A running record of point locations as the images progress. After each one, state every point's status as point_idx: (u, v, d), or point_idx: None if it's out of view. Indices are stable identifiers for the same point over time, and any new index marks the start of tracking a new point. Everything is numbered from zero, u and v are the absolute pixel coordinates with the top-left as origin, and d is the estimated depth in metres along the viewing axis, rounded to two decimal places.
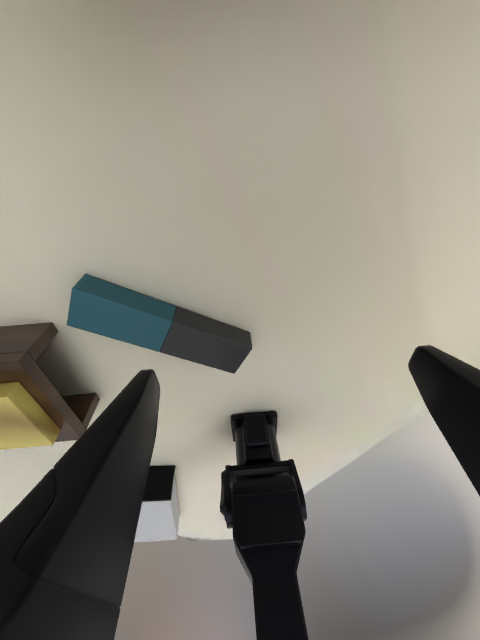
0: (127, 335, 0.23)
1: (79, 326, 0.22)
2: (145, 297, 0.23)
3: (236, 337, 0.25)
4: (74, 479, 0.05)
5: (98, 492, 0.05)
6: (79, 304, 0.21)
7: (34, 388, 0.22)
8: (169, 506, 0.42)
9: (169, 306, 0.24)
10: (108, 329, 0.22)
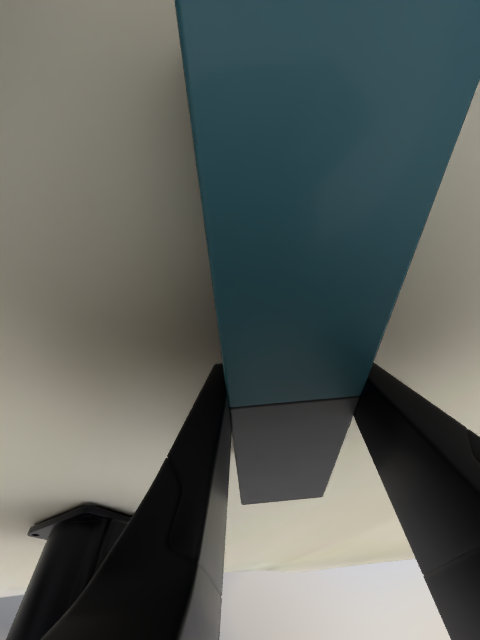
0: (257, 322, 0.06)
1: (209, 92, 0.03)
2: None
3: None
4: (194, 468, 0.05)
5: (215, 481, 0.05)
6: (395, 47, 0.03)
7: None
8: None
9: None
10: (260, 252, 0.05)
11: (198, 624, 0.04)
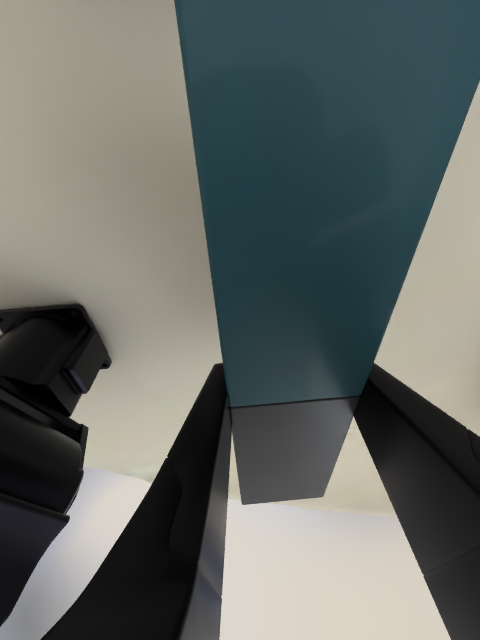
0: (258, 321, 0.06)
1: (209, 90, 0.03)
2: None
3: None
4: (194, 468, 0.05)
5: (215, 481, 0.05)
6: (395, 44, 0.03)
7: None
8: None
9: None
10: (260, 252, 0.05)
11: (198, 624, 0.04)
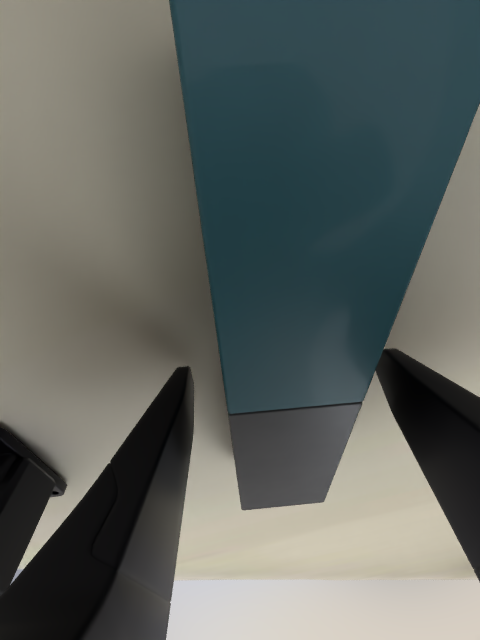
0: (257, 328, 0.06)
1: (205, 91, 0.03)
2: None
3: None
4: (133, 473, 0.05)
5: (156, 486, 0.05)
6: (401, 42, 0.03)
7: None
8: None
9: None
10: (259, 258, 0.05)
11: (117, 633, 0.04)
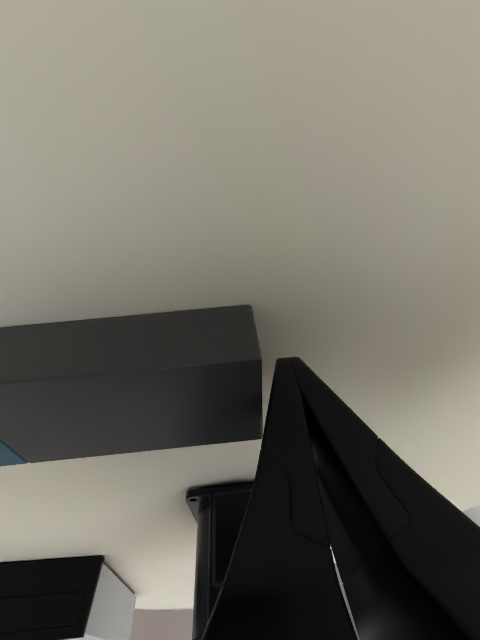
0: None
1: None
2: None
3: (197, 343, 0.07)
4: (293, 458, 0.05)
5: None
6: None
7: None
8: (88, 636, 0.23)
9: None
10: None
11: None
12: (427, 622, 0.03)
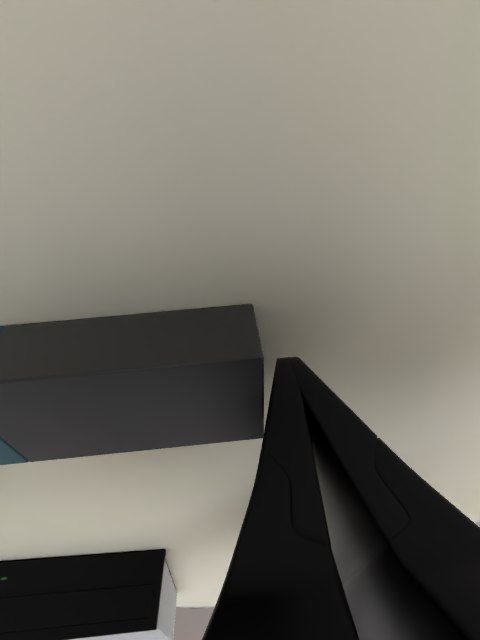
0: None
1: None
2: None
3: (199, 341, 0.07)
4: (294, 458, 0.05)
5: None
6: None
7: None
8: None
9: None
10: None
11: None
12: (427, 621, 0.03)
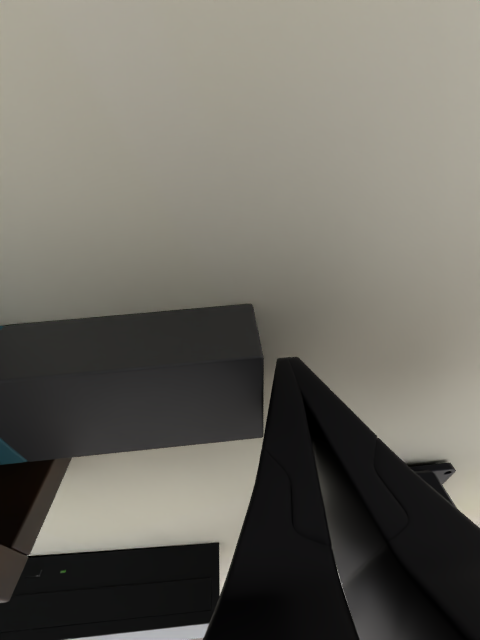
0: None
1: None
2: None
3: (199, 341, 0.07)
4: (294, 458, 0.05)
5: None
6: None
7: None
8: None
9: None
10: None
11: None
12: (427, 622, 0.03)
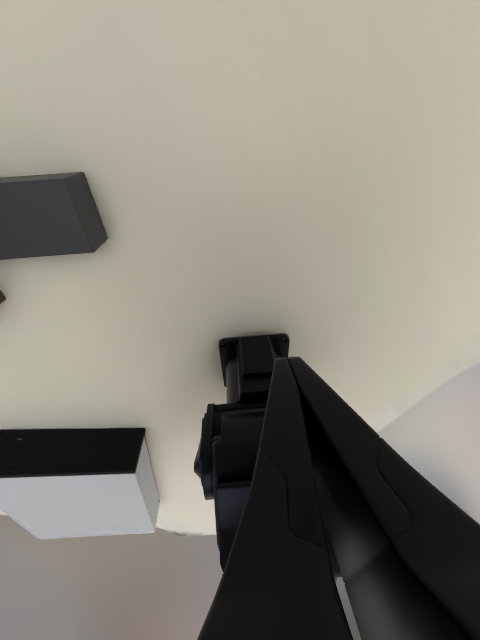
0: None
1: None
2: None
3: (39, 178, 0.14)
4: (291, 458, 0.05)
5: None
6: None
7: None
8: (135, 483, 0.30)
9: None
10: None
11: None
12: (430, 620, 0.03)
